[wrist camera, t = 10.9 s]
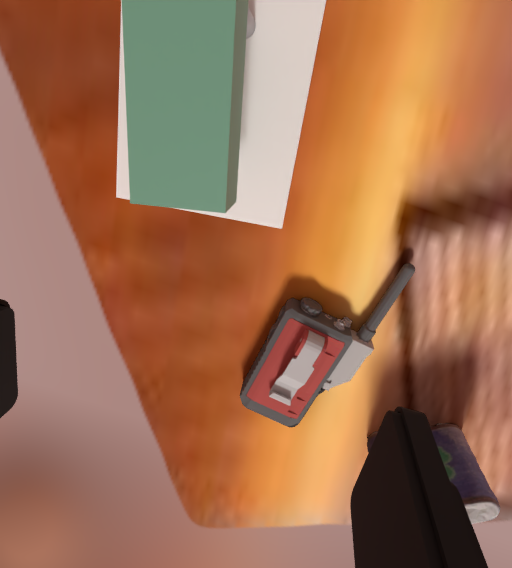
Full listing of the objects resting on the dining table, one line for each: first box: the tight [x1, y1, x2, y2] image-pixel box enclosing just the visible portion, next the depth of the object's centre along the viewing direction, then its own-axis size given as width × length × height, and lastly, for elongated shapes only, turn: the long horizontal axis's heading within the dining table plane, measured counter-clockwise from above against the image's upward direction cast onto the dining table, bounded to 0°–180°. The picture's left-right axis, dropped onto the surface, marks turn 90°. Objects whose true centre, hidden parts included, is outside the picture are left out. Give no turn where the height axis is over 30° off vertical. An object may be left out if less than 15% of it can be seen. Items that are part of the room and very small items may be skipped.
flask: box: [367, 423, 500, 524], centre depth 35 cm, size 9×3×11 cm, turn 105°
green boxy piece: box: [122, 0, 248, 213], centre depth 23 cm, size 6×14×4 cm, turn 176°
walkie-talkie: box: [240, 263, 415, 427], centre depth 35 cm, size 9×4×20 cm
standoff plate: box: [116, 0, 326, 229], centre depth 28 cm, size 14×18×6 cm
